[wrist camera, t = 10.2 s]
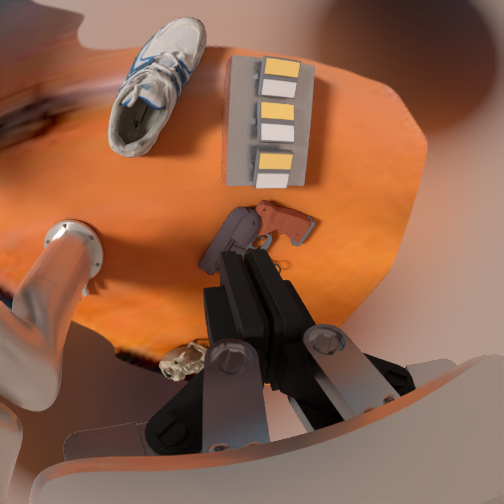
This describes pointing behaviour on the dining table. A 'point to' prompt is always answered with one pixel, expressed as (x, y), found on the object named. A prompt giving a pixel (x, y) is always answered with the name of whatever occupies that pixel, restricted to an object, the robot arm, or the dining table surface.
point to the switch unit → (245, 121)
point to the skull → (183, 361)
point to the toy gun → (255, 231)
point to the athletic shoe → (155, 86)
